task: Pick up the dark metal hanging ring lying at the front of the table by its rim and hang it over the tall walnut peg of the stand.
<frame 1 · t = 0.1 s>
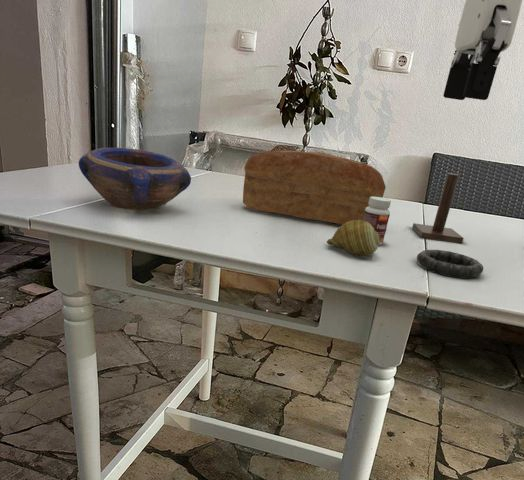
hand: (463, 98, 72), 26 cm above the table, tool pointing down, fingers open, 9 cm apart
bowl: (135, 208, 101), on the table
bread: (307, 217, 114), on the table
pill bottle: (370, 243, 99), on the table
stand: (436, 235, 113), on the table
ring: (449, 263, 88), point 1 cm above the table
seashell: (350, 253, 90), on the table
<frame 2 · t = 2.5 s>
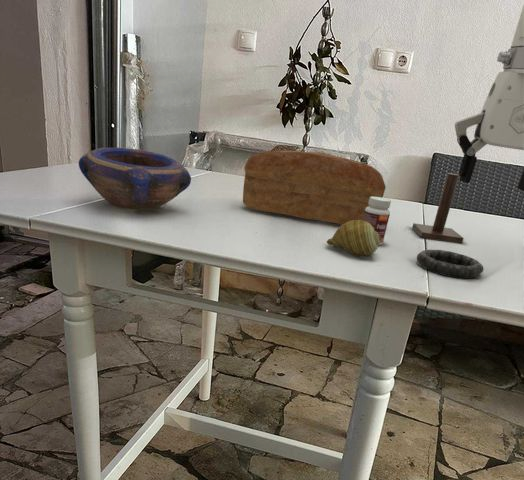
hand: (493, 186, 82), 15 cm above the table, tool pointing down, fingers open, 9 cm apart
nothing on the table moved.
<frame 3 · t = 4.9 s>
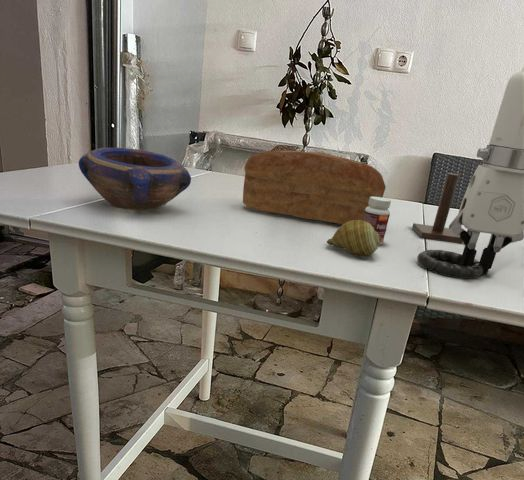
hand: (473, 270, 89), 0 cm above the table, tool pointing down, fingers closed on ring, 2 cm apart
ring: (450, 263, 88), point 1 cm above the table, touching gripper
everything else where it was.
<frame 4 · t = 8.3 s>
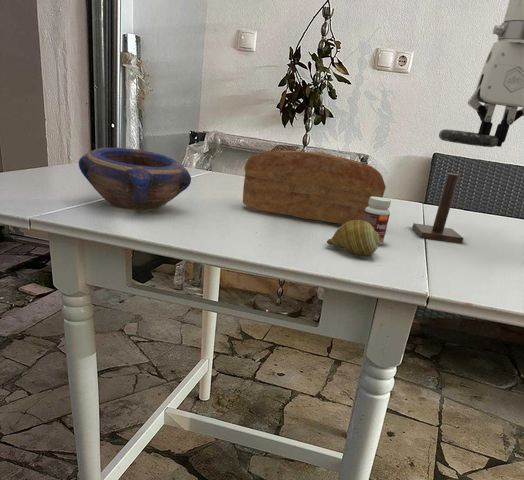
hand: (489, 144, 100), 20 cm above the table, tool pointing down, fingers closed on ring
ring: (468, 138, 99), point 21 cm above the table, touching gripper
everything else where it was.
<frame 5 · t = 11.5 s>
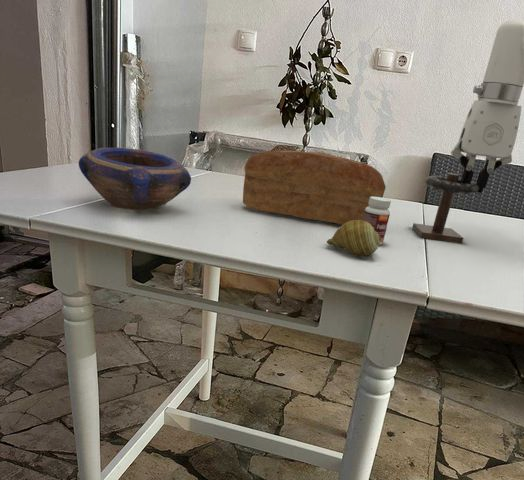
hand: (471, 190, 108), 11 cm above the table, tool pointing down, fingers closed on ring
ring: (451, 184, 108), point 11 cm above the table, touching gripper
everything else where it was.
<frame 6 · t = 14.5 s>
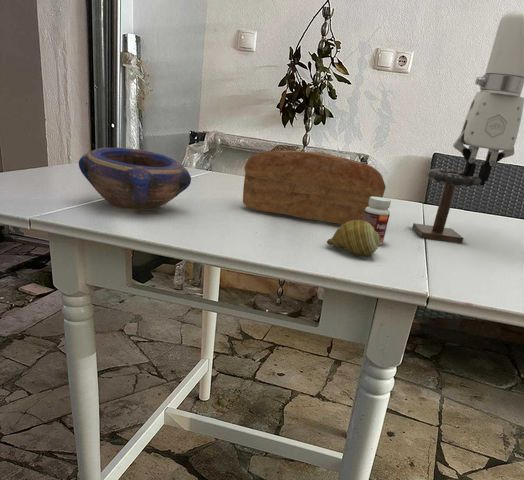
hand: (473, 182, 108), 12 cm above the table, tool pointing down, fingers closed on ring
ring: (454, 177, 107), point 13 cm above the table, touching gripper
everything else where it was.
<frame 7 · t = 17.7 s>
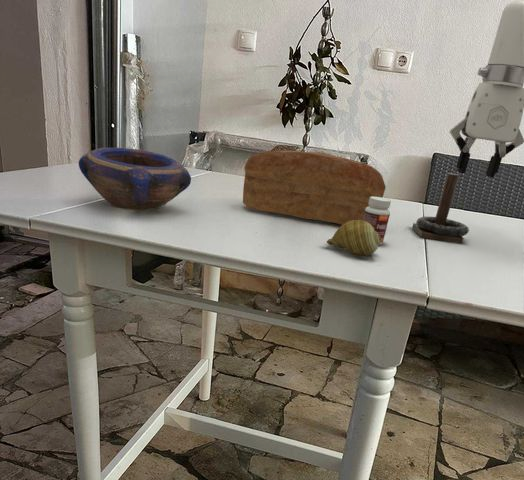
hand: (475, 173, 107), 14 cm above the table, tool pointing down, fingers open, 5 cm apart
ring: (442, 226, 112), point 2 cm above the table, touching stand
everything else where it was.
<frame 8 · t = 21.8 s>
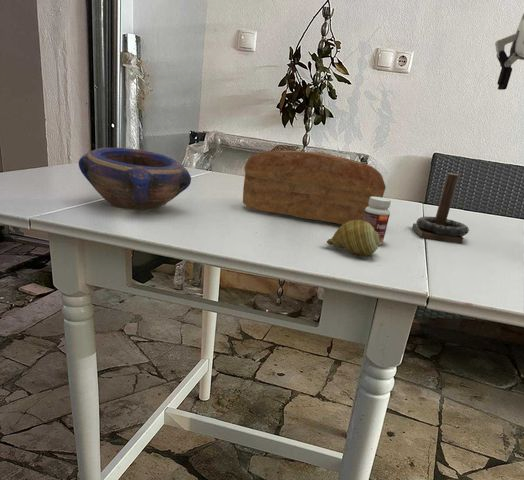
nothing on the table moved.
at the end: ring 0.7 cm from the stand (horizontally); ring point 2.2 cm above the table; the gripper is holding nothing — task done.
